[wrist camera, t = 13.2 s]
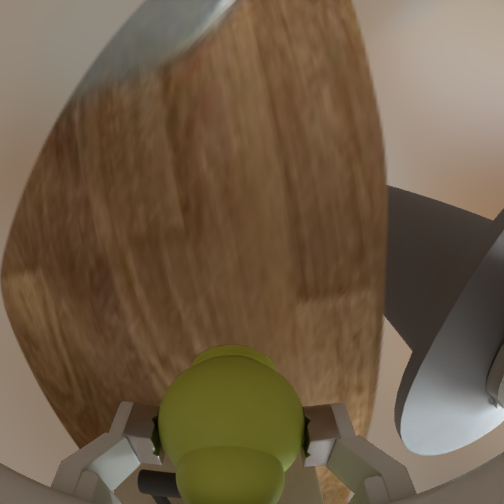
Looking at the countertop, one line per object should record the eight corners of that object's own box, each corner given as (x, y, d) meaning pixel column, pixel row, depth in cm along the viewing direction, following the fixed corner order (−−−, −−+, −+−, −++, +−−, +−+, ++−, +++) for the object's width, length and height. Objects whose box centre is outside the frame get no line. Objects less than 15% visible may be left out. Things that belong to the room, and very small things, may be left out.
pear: (300, 326, 11) (347, 502, 4) (289, 414, 12) (310, 547, 6) (162, 327, 10) (103, 494, 4) (181, 413, 12) (159, 545, 6)
